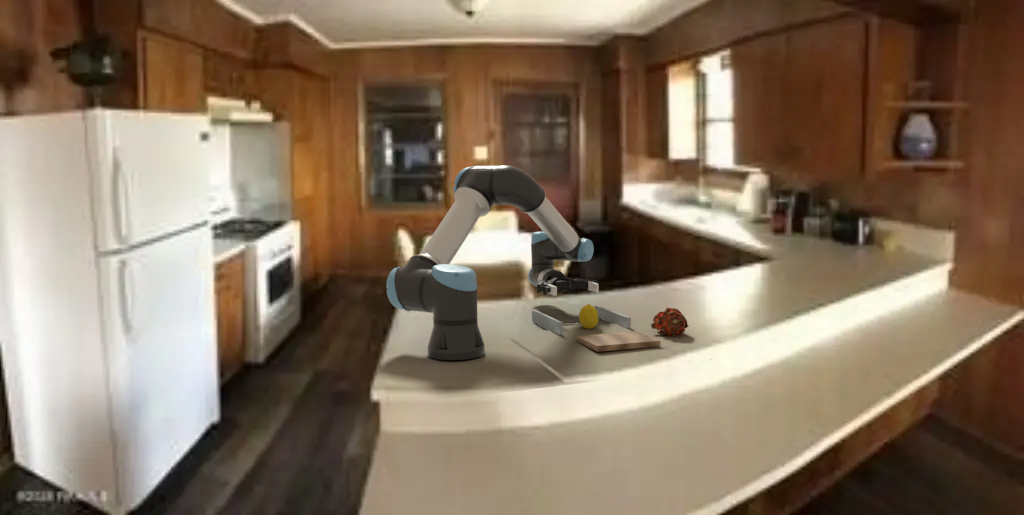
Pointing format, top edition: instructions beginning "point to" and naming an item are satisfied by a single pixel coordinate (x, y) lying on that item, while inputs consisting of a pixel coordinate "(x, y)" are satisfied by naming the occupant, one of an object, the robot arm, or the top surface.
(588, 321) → the lemon
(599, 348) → the board
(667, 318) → the dragon fruit
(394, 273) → the robot arm
